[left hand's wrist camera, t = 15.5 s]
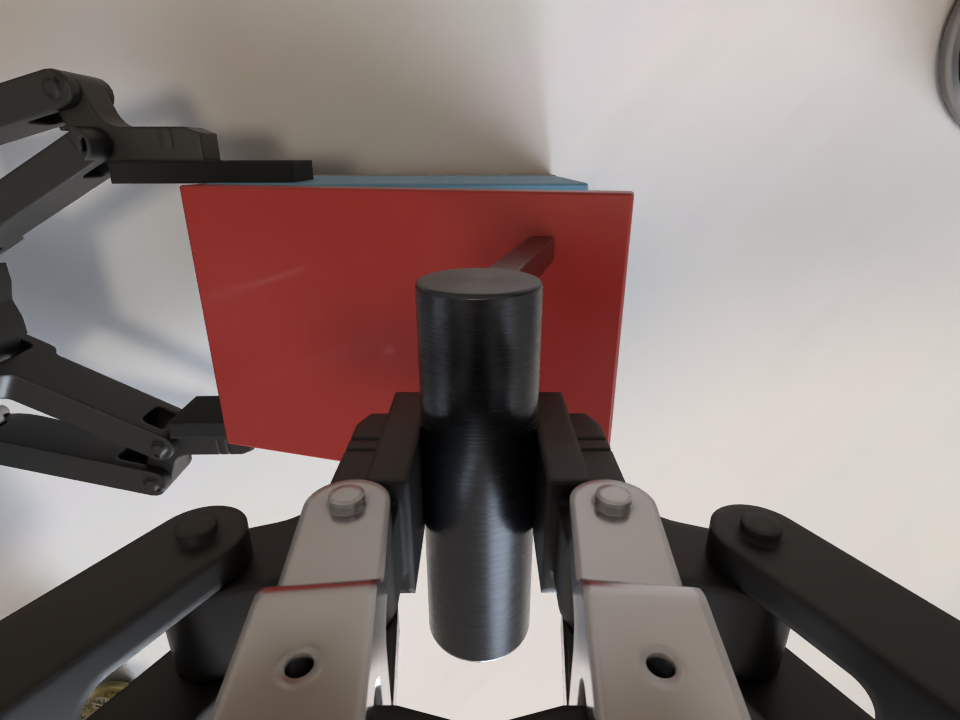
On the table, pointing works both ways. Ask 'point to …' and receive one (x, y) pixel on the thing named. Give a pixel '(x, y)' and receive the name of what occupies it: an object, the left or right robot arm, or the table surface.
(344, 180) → the chest
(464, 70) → the table surface
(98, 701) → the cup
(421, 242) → the lid
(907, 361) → the table surface
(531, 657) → the table surface
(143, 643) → the left robot arm
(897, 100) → the table surface
